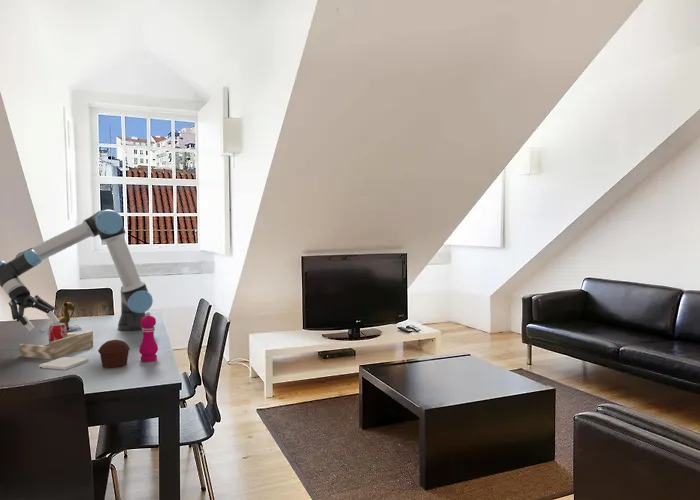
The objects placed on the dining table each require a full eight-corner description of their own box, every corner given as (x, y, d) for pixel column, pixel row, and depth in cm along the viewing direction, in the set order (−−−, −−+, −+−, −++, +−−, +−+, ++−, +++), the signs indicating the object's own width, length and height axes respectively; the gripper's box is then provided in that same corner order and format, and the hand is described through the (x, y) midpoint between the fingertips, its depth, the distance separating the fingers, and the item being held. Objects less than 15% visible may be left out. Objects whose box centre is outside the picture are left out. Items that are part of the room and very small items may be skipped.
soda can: (59, 353, 220) (58, 325, 219) (45, 352, 221) (44, 325, 221) (71, 349, 227) (70, 322, 226) (57, 348, 228) (56, 321, 228)
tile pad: (88, 361, 208) (87, 359, 208) (65, 369, 196) (65, 367, 196) (63, 359, 211) (63, 356, 211) (39, 367, 199) (39, 364, 199)
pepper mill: (142, 357, 214) (141, 310, 213) (160, 357, 215) (159, 310, 214) (136, 362, 207) (136, 313, 206) (155, 362, 208) (154, 313, 207)
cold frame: (93, 345, 234) (92, 330, 233) (52, 359, 211) (51, 342, 211) (62, 343, 237) (62, 328, 237) (19, 356, 215) (19, 339, 215)
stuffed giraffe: (82, 330, 265) (80, 300, 264) (42, 336, 255) (40, 304, 254) (78, 326, 278) (76, 297, 278) (40, 331, 268) (37, 301, 267)
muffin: (116, 360, 210) (115, 336, 210) (136, 363, 206) (136, 338, 205) (91, 367, 199) (91, 342, 199) (112, 371, 195) (112, 345, 194)
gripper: (35, 292, 240) (62, 326, 237) (-15, 300, 216) (15, 338, 213) (44, 282, 238) (72, 315, 235) (-5, 288, 214) (25, 326, 211)
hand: (45, 326), depth 224 cm, fingers open, 13 cm apart
